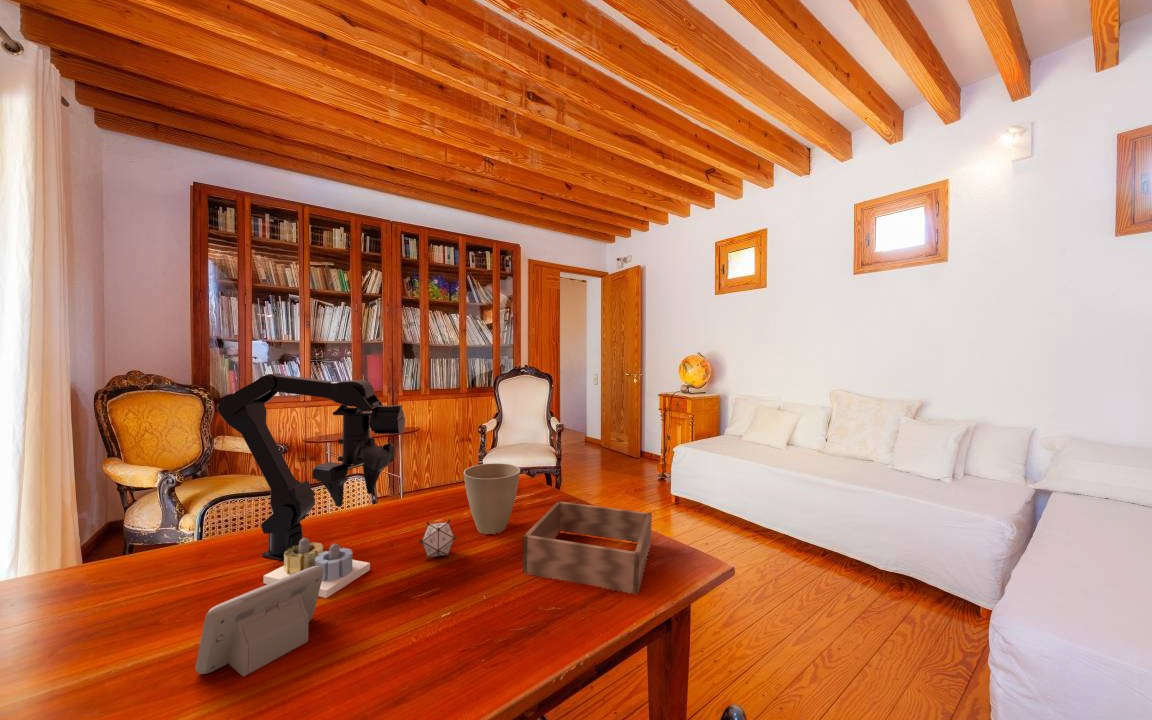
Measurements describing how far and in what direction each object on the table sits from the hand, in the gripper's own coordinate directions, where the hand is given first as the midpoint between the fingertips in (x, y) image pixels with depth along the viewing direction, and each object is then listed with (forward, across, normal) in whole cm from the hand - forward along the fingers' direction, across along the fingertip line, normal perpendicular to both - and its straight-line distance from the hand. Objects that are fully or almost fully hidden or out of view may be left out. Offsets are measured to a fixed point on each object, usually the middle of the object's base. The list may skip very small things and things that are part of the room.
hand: (355, 499), depth 98 cm
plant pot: (+12, +22, -24) cm, 35 cm away
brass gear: (+10, -12, +2) cm, 16 cm away
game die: (+12, +4, -20) cm, 24 cm away
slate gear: (+10, -12, -6) cm, 17 cm away
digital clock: (+12, -30, -12) cm, 35 cm away
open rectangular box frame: (+14, +15, -54) cm, 58 cm away
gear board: (+12, -12, -2) cm, 17 cm away
